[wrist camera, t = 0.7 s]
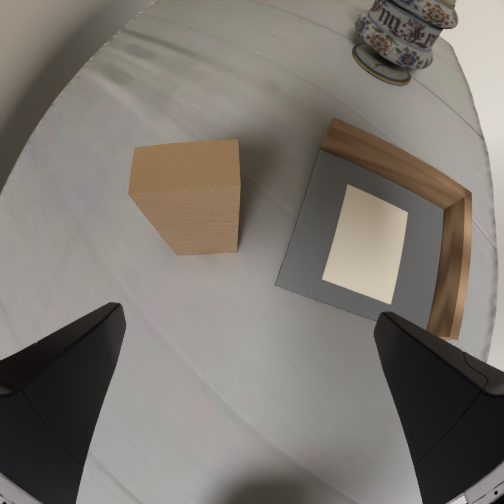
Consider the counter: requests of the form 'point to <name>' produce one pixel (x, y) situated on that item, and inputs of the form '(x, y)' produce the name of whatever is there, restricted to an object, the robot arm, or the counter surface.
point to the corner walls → (432, 189)
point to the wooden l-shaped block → (190, 194)
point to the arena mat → (364, 244)
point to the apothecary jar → (401, 36)
